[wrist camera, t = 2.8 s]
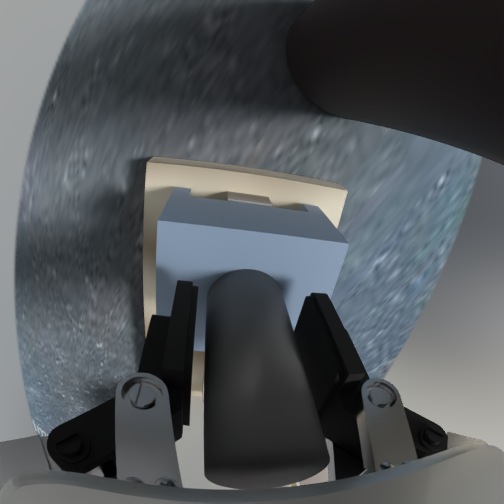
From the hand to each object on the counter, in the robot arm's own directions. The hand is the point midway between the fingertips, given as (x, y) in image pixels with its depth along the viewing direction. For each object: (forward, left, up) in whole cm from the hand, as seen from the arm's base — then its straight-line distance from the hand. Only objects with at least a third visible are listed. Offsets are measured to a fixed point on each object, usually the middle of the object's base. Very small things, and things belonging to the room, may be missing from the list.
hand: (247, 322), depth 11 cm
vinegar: (-11, +4, -7) cm, 14 cm away
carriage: (0, 0, -5) cm, 5 cm away
